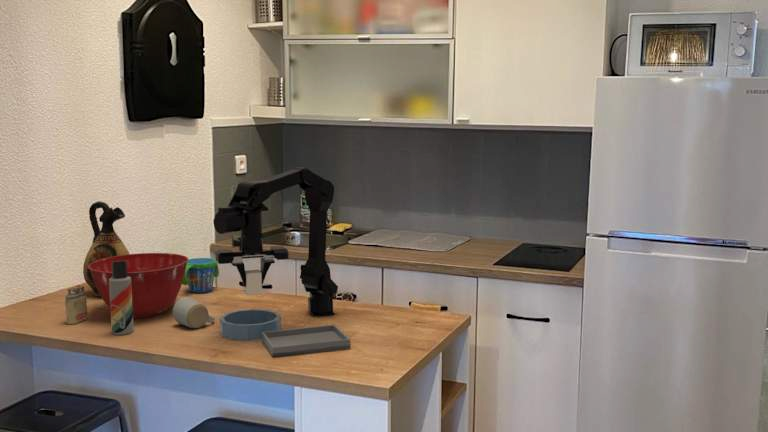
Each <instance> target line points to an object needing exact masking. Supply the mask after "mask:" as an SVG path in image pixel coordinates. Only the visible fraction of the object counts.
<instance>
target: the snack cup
mask: <svg viewBox="0 0 768 432" xmlns="http://www.w3.org/2000/svg"><path fill="white" fill-rule="evenodd" d="M218 265H219V264H218V262H217V261H216V258H211V257H196V258H190V259H189V258H188V261H187V265H186V270H185V275H184V279H183V282H182V285H183V286H188V290H189V291H190V292H191V293H193V294H195V293H196V294H202V293H208V292H211V291H213V287H214V280H215V277H216V278H218V277H219V276H220V270H219V266H218Z"/></svg>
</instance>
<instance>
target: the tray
mask: <svg viewBox="0 0 768 432" xmlns="http://www.w3.org/2000/svg"><path fill="white" fill-rule="evenodd" d="M261 334H262V339H261V343H262V344H263V345H264V347H265V348H266V349H267V351H268V353H269V354H270V355H271V357H272V358H280V357H281V358H282V357H289V356H297V355H306V354H307V355H308V354H316V353H318V354H319V353H325V352H333V351H335V352H336V351H343V350H351V338H349V336H348V335H346V334H345V333H344V332H343V330H341V329H340V328H339V327H338V326H337V325H336V324H328V325H317V326H309V327H308V326H307V327H300V328H299V327H298V328H287V329H281V330H277V331H267V332H261Z"/></svg>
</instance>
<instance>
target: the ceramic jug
mask: <svg viewBox="0 0 768 432" xmlns="http://www.w3.org/2000/svg"><path fill="white" fill-rule="evenodd" d="M98 209H102V211H103V212H102V214H100V216H99V221H98V218H97V213H96V212H97V210H98ZM88 213H89V221H90V224H91V226H92V230H93V234H94V235H93V239H92V243H91V246H90V248H89V250H88V251H87V254H86V256H85V258H84V262H83V272H82V273H83V279H84V281H85V283H86V284H87V285H88V286H89V288H91V289H92V291H93V292H92V294H93V295H95V296H96V297H100V298H102V297H101V295H100V294H99V292H98V290H97V288H96V285H95V283H94V280H93V278H92V275H91V272H90V269H89V268H88V265H89V264H90V263H92V262H94V261H97V260H100V259H104V258H108V257H113V256H120V255H128V254H130V251H129V250H128V248H127V247H126V245H125V244H124V242H123V240H122V239H121V238H120V236H118V233H116V231H115V229H114V223H115V222H116V221H119V220H121V219H124V218H125V217H126V215H125V213H124V211H123V210H122V209H121V208H120V207H119V206H116V207H115V208H113V207H110V206H109V205H108V203H107V202H106V203H105V202H103V201H101V200H98V201H95V202H93V203H92V204H91V205H90V207H89V210H88ZM99 222H100V223H102V225H101V228H100V225H99Z"/></svg>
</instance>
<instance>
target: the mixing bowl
mask: <svg viewBox="0 0 768 432" xmlns="http://www.w3.org/2000/svg"><path fill="white" fill-rule="evenodd" d="M188 259H189V258H188V256H186V255H182V254H177V253H170V252H169V253H168V252H145V253H144V252H141V253H129V254H128V255H120V256H113V257H108V258H104V259H100V260H97V261H94V262H92V263H90V264H89V265H88V268H89V269H90V272H91V275H92V278H93V280H94V283H95V285H96V288H97V290H98V292H99V294H100V295H101V297H100V298H101V299H102V301H103V302H104V305H106V307H107V308H108V309H109V310H110V311H111V309H110V291H109V279H110V278H112V262H118V261H127V276H129V277H131V287H132V307H133V319H134V318H135V319H138V318H139V319H141V318H149V317H153V316H158V315H160V314H163V313H164V312H165V311H166V310H168V309H169V308H170V307H171V306H172V305H174V304H175V301H176V300H177V297H178V295H179V293H180V290H181V287H182V285H183V284H182V282H183V279H184V275H185V270H186V265H187V261H188Z"/></svg>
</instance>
